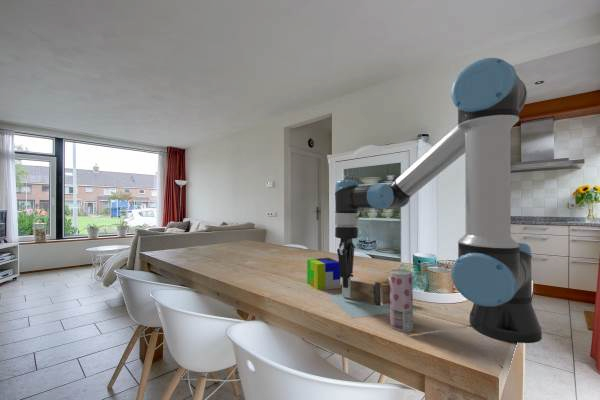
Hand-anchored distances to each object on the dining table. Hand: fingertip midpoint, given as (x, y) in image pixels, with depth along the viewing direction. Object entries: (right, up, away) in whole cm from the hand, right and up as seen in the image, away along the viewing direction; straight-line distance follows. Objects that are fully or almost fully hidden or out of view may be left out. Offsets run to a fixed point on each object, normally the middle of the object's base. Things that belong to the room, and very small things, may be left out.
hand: (346, 296), depth 93 cm
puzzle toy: (-6, -3, +20) cm, 21 cm away
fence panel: (+5, -1, 0) cm, 5 cm away
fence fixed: (+15, -1, -2) cm, 15 cm away
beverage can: (+11, -2, -19) cm, 23 cm away
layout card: (+7, -2, -1) cm, 8 cm away
